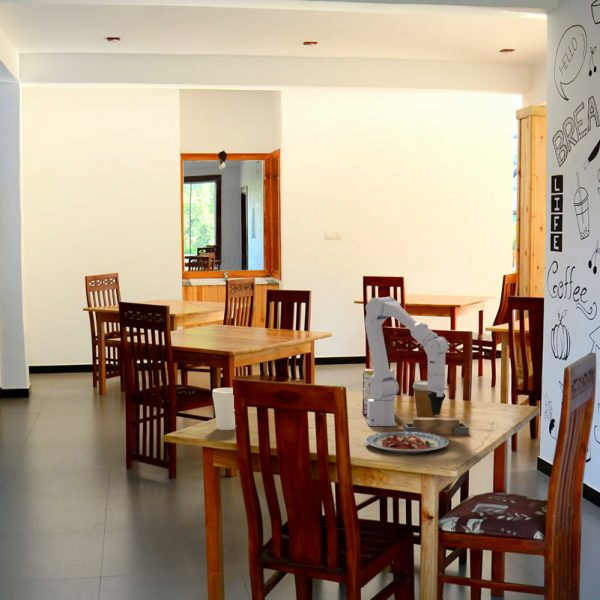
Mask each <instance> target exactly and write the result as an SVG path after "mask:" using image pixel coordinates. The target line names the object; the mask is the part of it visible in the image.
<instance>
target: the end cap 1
mask: <svg viewBox="0 0 600 600" xmlns="http://www.w3.org/2000/svg"><path fill="white" fill-rule="evenodd" d="M402 427H403V428H402V430H403V431H408V432H421V427H413V422H409V423H408V422H404V423H402Z"/></svg>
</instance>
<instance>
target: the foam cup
mask: <svg viewBox="0 0 600 600" xmlns="http://www.w3.org/2000/svg"><path fill="white" fill-rule="evenodd" d="M233 388H234V387H220V388H213V390H212V400H213V406H214V414H215V421H216V422H215V423H216V427H217V429H218V430H219V431H231V430H232V431H233V430H236V429H235V415H234V411H235V409H234V395H233Z"/></svg>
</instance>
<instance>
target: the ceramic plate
mask: <svg viewBox="0 0 600 600" xmlns="http://www.w3.org/2000/svg"><path fill="white" fill-rule="evenodd" d="M365 443H366V444H368V446H371V447H374V448H378V449H382V450H384V451H387V452H391V451H392V452H391V453H398V452H400V453H401V454H419V452H421V453H426V451H427V452H430V450H431V451H434V450H439V449H442V448H445V447H447V446H448V445H449V440H448V439H447V438H445V437H443V436H440V435H439V434H429V433H422V432H408V431H400V430H398V431H386V432H385V431H384V432H383V431H382V432H378V433H374V434H373V433H372V434H371V435H368V436H367V437H366V438H365Z"/></svg>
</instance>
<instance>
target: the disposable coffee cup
mask: <svg viewBox="0 0 600 600" xmlns="http://www.w3.org/2000/svg"><path fill="white" fill-rule="evenodd" d="M427 387H428V380H417V381H414V382H413V385H412V388H413V393H414V400H415V401H414V403H415V410H416V417H417V416H418V417H423V418H433V417H434V416H435V415H433V414H432V410H431V404H430V400H429V397H428V395H427V393H432V391H429V390H427Z"/></svg>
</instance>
